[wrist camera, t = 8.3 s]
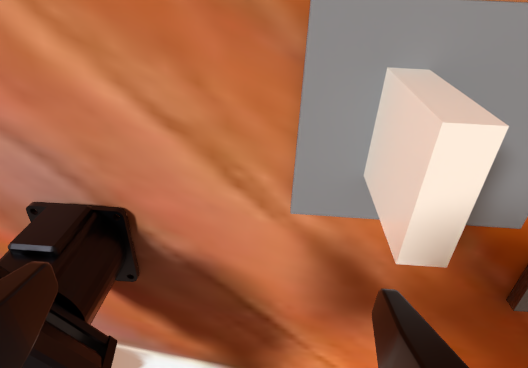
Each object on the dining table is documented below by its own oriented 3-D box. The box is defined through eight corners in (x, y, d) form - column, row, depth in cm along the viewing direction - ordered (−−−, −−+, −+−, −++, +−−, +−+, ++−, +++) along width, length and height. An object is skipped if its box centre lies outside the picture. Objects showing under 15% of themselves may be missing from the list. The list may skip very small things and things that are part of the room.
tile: (400, 177, 20) (448, 267, 14) (363, 175, 20) (396, 263, 14) (431, 69, 16) (511, 126, 11) (387, 67, 17) (442, 122, 11)
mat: (515, 222, 22) (520, 228, 21) (290, 207, 22) (290, 213, 21) (630, 7, 15) (642, 8, 15) (311, -8, 16) (312, -7, 15)
